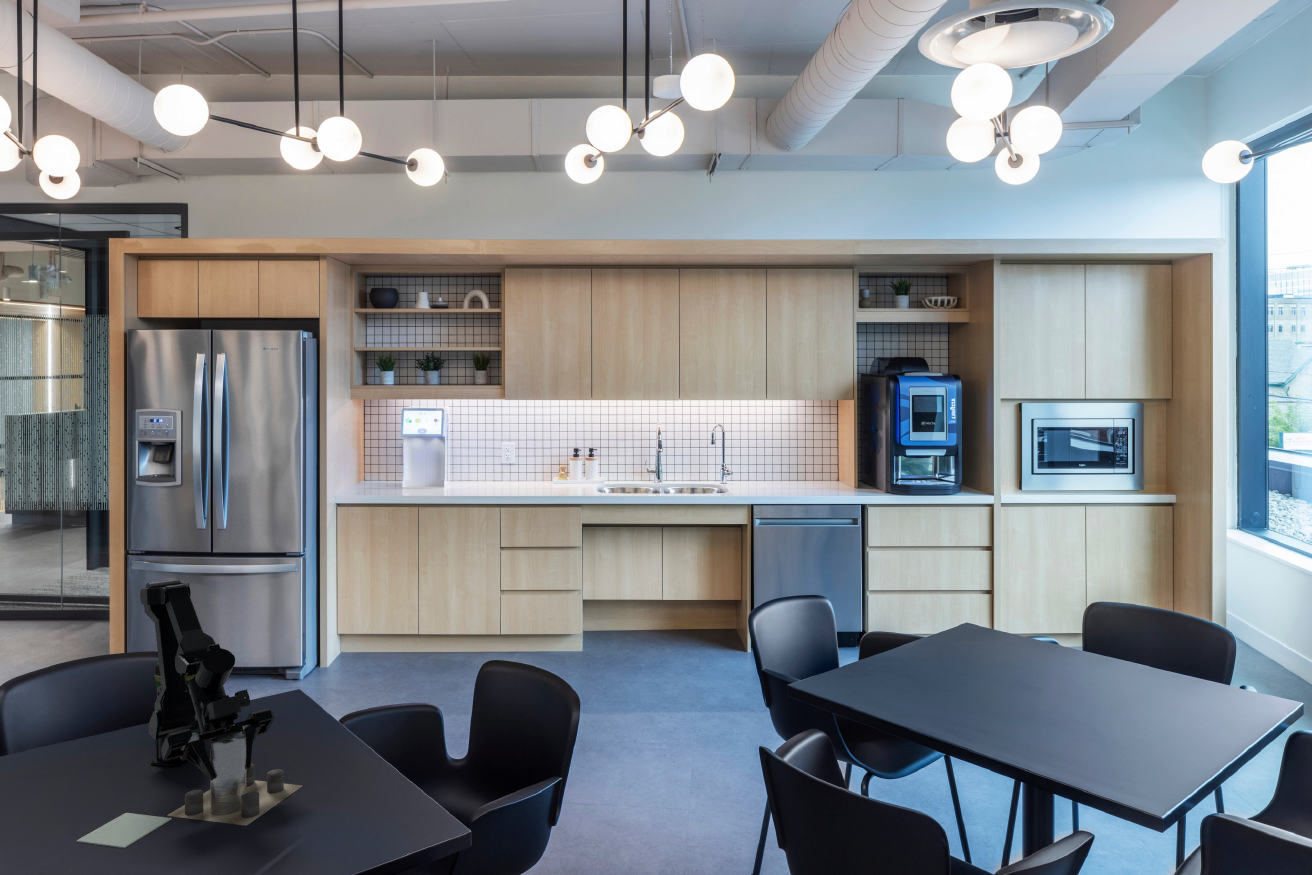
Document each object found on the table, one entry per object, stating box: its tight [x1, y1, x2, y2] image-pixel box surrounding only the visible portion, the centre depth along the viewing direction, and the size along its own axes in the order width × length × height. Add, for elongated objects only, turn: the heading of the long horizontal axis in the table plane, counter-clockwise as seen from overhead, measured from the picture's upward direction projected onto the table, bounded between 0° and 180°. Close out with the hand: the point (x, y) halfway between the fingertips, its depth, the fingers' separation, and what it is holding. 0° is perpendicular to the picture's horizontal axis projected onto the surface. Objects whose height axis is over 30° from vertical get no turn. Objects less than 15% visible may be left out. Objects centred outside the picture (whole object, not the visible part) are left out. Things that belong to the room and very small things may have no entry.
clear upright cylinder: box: [209, 733, 246, 816], centre depth 149 cm, size 6×6×13 cm
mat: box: [166, 763, 303, 826], centre depth 152 cm, size 17×16×4 cm
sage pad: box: [76, 812, 172, 849], centre depth 140 cm, size 10×10×1 cm
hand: (231, 773), depth 148 cm, fingers closed on clear upright cylinder, 6 cm apart
